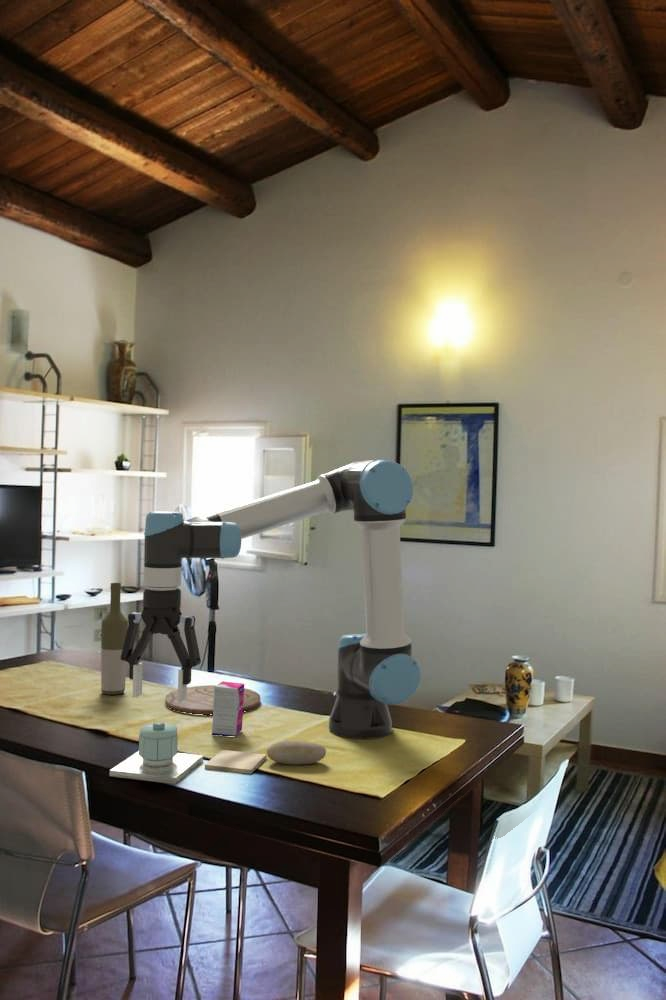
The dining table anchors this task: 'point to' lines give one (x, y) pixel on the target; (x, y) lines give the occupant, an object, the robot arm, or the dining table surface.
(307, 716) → the dining table surface
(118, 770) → the post
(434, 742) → the dining table surface
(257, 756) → the coaster
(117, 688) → the bottle
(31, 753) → the dining table surface
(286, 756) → the stone
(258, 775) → the dining table surface
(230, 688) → the supplement box
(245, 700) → the trivet
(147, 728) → the cap
